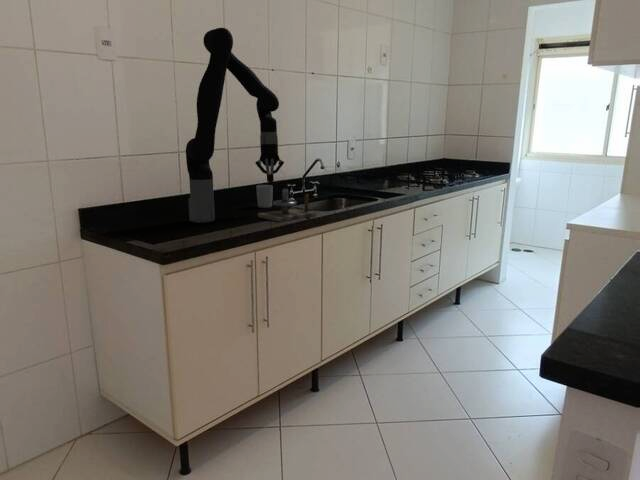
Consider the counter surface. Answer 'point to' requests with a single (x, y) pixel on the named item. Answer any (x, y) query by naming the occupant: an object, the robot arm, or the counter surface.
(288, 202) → the flange
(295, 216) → the flange base
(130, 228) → the counter surface
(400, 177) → the counter surface
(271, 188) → the white cup
